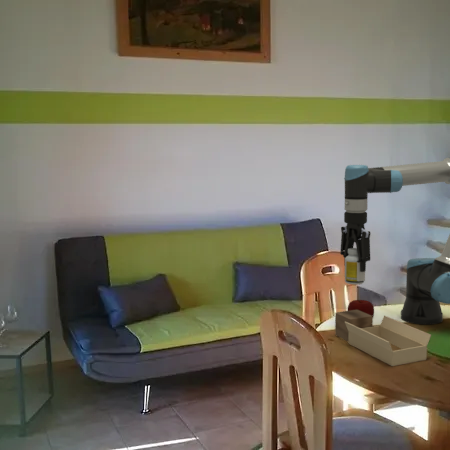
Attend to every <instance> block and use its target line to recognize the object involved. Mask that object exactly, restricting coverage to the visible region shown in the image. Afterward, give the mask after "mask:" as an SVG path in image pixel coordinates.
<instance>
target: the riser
mask: <svg viewBox="0 0 450 450" xmlns="http://www.w3.org/2000/svg"><path fill="white" fill-rule="evenodd" d="M334 313H335V315H334V317H335V321H334V323H335V324H334V335H335V336H337V337H339V338H340V339H342V340H345V341H346V342H348V335H349V331H348V329H347V327H346V324H345V321H346V322H348V323H350V324H352V325H354V326H356V327H358V328H367V327H373V324H374V323H373V319H374V316H371V315H369V314H367V313H364V312H362V311H359V310H350V311H347V310H344V311H337V312H334Z"/></svg>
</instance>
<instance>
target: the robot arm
mask: <svg viewBox="0 0 450 450" xmlns="http://www.w3.org/2000/svg"><path fill="white" fill-rule="evenodd" d="M343 179H344V210H345V211H344V212H343V213H344V214H343V221H344V223H345V224H346V225H345V226H341V227H340V229H341V230H340V232H341V237H340V238H341V240H340V252H339V253H340V255H341V256H342V257H343V258H344V263H343V264H344V267H345V258H346V257H347V256H348V255H349V254H348V249H349V248H354V245H355V246H356V247H355V248H357V253H358V259H359V261H357V281H364V282H365V281H366V267H367V266H366V265H367V262H370V261H371V239H370V238H371V231H368V230H366V228H365V224H367V223H368V212H367V211H368V196H369V195H368V194H377V193H378V194H384V193H386V194H387V193H390V194H392V193H399V192H400V191H401V190H402V188H403V187H404V186H405V187H407V186H414V185H415V186H416V185H426V184H434V183H435V184H437V183H445V184H447V185H450V157H445V158H444V159H443V160H441V161H430V162H429V161H428V162H420V163H409V164H397V165H389V166H388V165H387V166H380V167H379V166H377V167H369V166H368V165H367V164H349V165H347V166H346V167H345V171H344V178H343ZM405 270H406V283H405V284H406V286H405V287H406V288H405V289H406V290H405V291H406V292H405V293H406V294H405V300H404V303H403V306H402V309H401V311H400V319H401V320H403V321H404V322H407V323H410V324H415V325H438V324H440V323H442V322H443V319H444V314H443V311H442V306H441V303H443V304H446V305H450V234H449V235H448V237H447V240H446V242H445V244H444V248H443V250H442V252H441V254H440V255H439V256H438V257H429V258H428V257H425V258H423V257H419V258H410V259H408V261H407V263H406V269H405Z"/></svg>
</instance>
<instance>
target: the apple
mask: <svg viewBox="0 0 450 450" xmlns="http://www.w3.org/2000/svg"><path fill="white" fill-rule="evenodd" d="M350 310H359V311H362V312H364V313H367V314H369V315H371V316H373V317H374V315H375V306H374V304H373V303H372V302H370V301H369V300H365V299H354V300H352V301H350V302H349V303H348V305H347V310H346V311H350Z"/></svg>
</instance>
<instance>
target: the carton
mask: <svg viewBox="0 0 450 450" xmlns="http://www.w3.org/2000/svg"><path fill="white" fill-rule="evenodd" d="M345 324H346V327H347V329H348V331H349V335H348V341H347V343H348V344H349V345H351V347H352V346H353V347H355V348H357V349H358V350H360V351H362V352H364V353H366V354H367V355H370V356H372V357H373V358H375V359H378V360H380V361H382V362H383V363H385V364H387V365H389V366H391V367H394V366H395V367H396V366H400V365H405V364H411V363H415V362H421V361H426V360H427V357H428V356H427V354H428V349H427V348H428V344H429V341H430V340H431V337H432V334H430V333H428V332H426V331H423V330H421V329H418V328H415V327H413V326H410V325H409V324H406V323H404V322H401V321H398V320H397V319H394V318H391V317H389V316H386V315H383V317H382V319H381V322H380V325H374V326H373V325H372V327H367V328H358V327H356V326H354V325H352V324H350V323H348V322H346V321H345ZM392 345H393V346H395V347H396V348H398V349H396V350H393V348H392Z"/></svg>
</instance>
